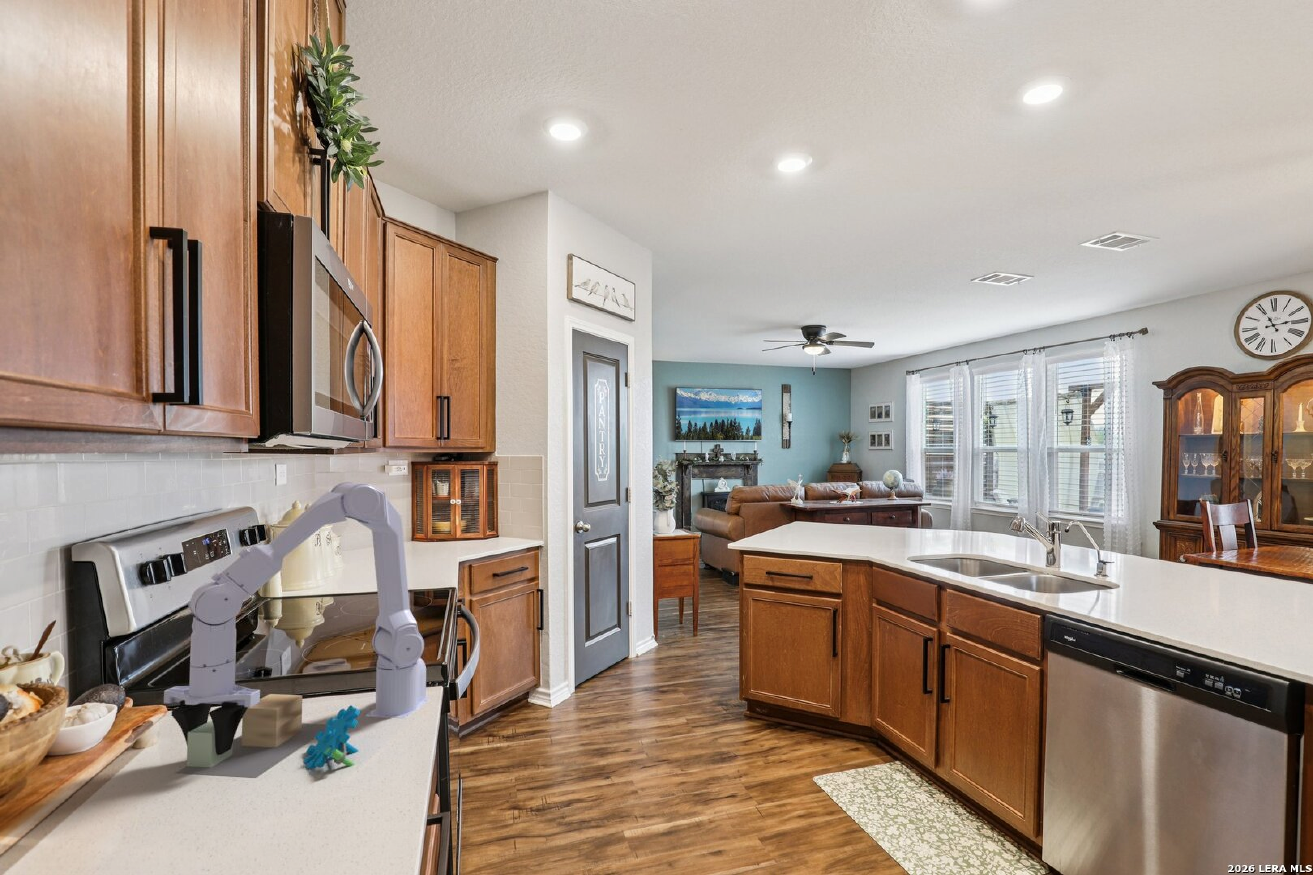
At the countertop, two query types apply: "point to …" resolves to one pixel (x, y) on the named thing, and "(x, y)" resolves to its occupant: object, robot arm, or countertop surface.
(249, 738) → the base slab
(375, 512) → the robot arm
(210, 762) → the green block
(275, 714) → the top slab
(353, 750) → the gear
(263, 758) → the mat
